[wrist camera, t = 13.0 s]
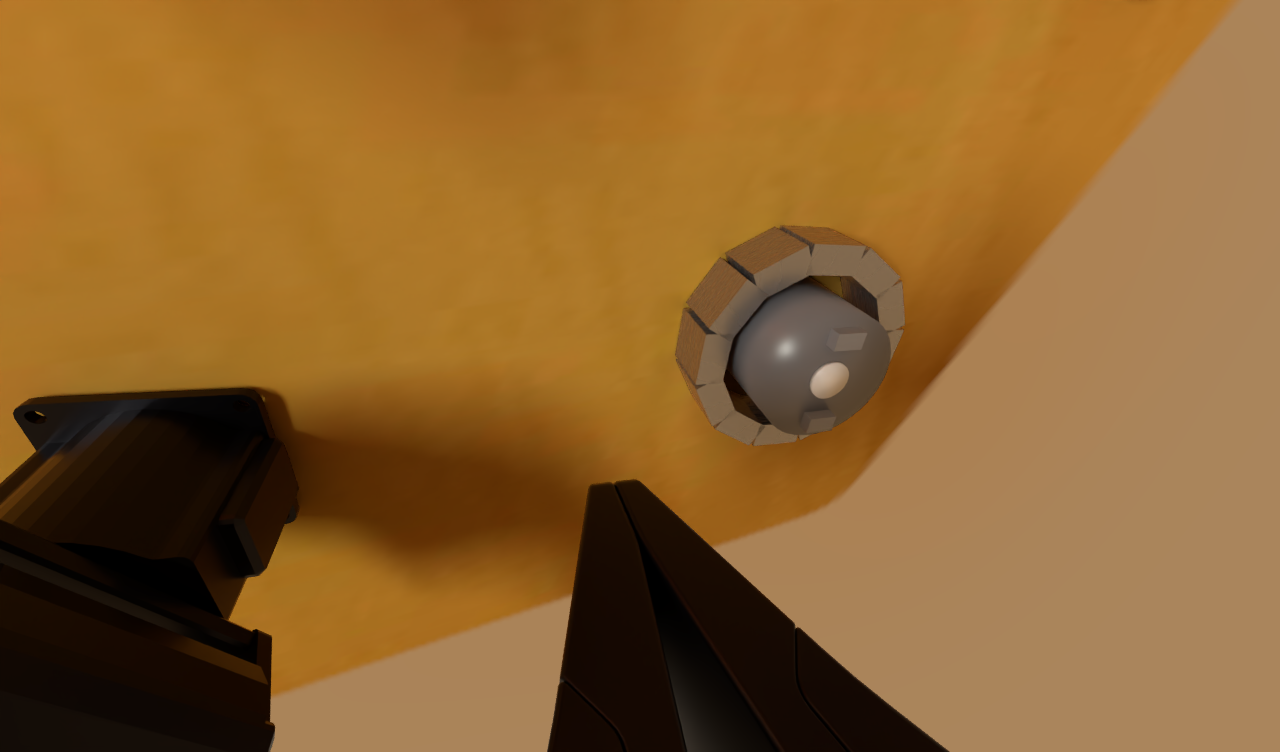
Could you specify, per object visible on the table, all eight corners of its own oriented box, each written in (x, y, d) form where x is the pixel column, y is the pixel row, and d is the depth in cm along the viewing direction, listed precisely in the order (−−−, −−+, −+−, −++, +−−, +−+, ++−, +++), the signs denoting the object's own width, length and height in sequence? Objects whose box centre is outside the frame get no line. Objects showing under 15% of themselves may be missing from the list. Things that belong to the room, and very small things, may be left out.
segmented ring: (663, 419, 24) (681, 453, 22) (699, 221, 19) (725, 240, 17) (828, 407, 27) (857, 435, 25) (896, 231, 22) (939, 249, 20)
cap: (706, 383, 23) (755, 450, 19) (727, 271, 20) (789, 323, 16) (807, 374, 25) (870, 434, 21) (839, 269, 22) (921, 316, 18)
